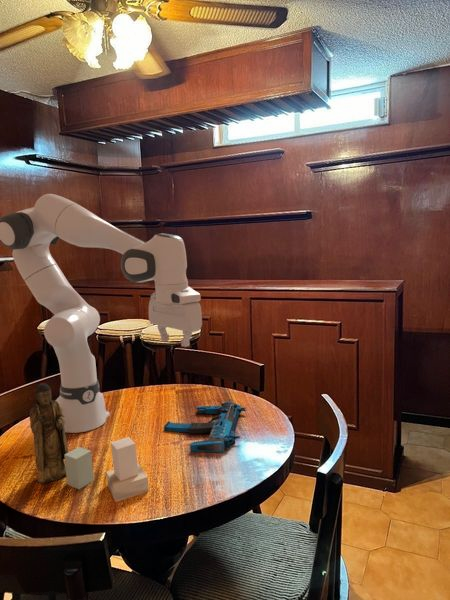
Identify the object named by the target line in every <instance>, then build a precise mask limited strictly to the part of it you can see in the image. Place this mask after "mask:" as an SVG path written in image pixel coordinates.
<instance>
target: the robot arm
mask: <svg viewBox="0 0 450 600" xmlns="http://www.w3.org/2000/svg"><path fill="white" fill-rule="evenodd" d="M59 240H62V241H64V242H66V243H68V244H70V245H74V246H76V247H81V248H94V249H95V248H96V249H97V248H98V249H107V250H108V249H109V250H112V251H114V252H117V253H119V254H121V255H122V257H121V260H120V269H121V272H122V274H123V276H124V278H125V279H127V280H129V281H130V282H133V283H146V282H149V281H154V286H155V287H154V288H155V291H153V293H151V295H150V300H149V302H148V321H149V323H150V324H152V325H156V326H157V330H158V332H159V334H160V341H162V342H168V341H169V340H170V334H168V331H167V328H169V329H175V330H178V331H182V335H183V338H182V339H181V340H180V343H181V344H180V345H181V346H182V347H185V348H186V347H190V344H191V343H190V340H191V337H192V335H193V333H196V332H198V331H200V330H201V329H202V326H203V313H202V307H201V304H200V301H201V300H202V299H201V298H202V297H201V294H200V293H199V292H198V291H196V290H194V289H193V288H192V287H191V286H189V282H188V281H189V280H188V278H187V268H188V261H187V251H186V246H185V242H184V239H183V238H182V237H181V236H179V235H176V234H172V233H171V234H170V233H156V234H154V236H153V237H152V238H151V239H149V240H148V241H143V240H141V239H139V238H137V237H135V236H134V235H133V234H132V235H131V234H130V233H128V232H126V231H124V230H122V229H120V228H118V227H116V226H114V225H112V224H111V223H110V222H107V221H106V220H105V219H102V218H101V217H99V216H98V215H96V214H95V213H93V212H92V211H90V210H88V209H87V208H85V207H83V206H81V205H80V204H79V203H76V202H74V201H72V200H70V199H68V198H66V197H64V196H61V195H59V194H54V193H46V194H43V195H41V196H40V197H39V198H38V199H37V200H36V201H35V204H34V206H33V207H28V208H25V209H23V210H18V211H16V212H10V213H9V212H8V213H7V214H4V215H3V216H1V217H0V243H1V245H2V246H4V247H5V248H6V249H9V250H12V255H11V256H12V258H13V261H14V263H15V266H16V268H17V270H18V272H19V274H20V276H21V278H22V279H23V281H24V282H25V284H26V286H27V288H29V290H30V292H31V295H33V297H34V298H35V300H36V301H37V303H38V304H40V305H41V306H43V307H45V308H46V309H48V310H49V311H50V312H51V313H52V314H53V316H52V317H51V318H49V319H48V321H46V324H45V325H44V328H43V334H44V338H45V340H46V341H47V343H48V344H49V345H50V346H52V347H53V350H54V352H55V354H56V355H55V356H56V357H57V360H58V365H59V371H60V372H59V373H60V381H61V383H60V387H59V396H58V397H57V398H56V399H55V400H54V401H57V402H58V403H59V404H60V406H61V408H62V411H63V414H64V417H65V418H64V419H65V425H64V427H65V433H70V434H71V433H73V434H76V433H77V434H78V433H83V432H89V431H92V430H95V429H97V428H100V427H101V426H102V425H104V424H105V422H106V420H107V418H109V417H110V415H111V414H110V411H107V408H106V403H105V397H104V394H103V393H102V392H100V382H99V379H98V378H97V377H98V376H97V375H98V374H97V366H96V358H95V355H93V353H92V352H91V349H90V346H89V343H88V337H89V336H91V335H93V334H94V333H95V332H96V330H97V329H98V328H99V325H100V322H101V316H100V313H99V311H98V310H97V309H96V308H95V307H93V306H91V305H90V304H89V303H87V301H86V300H85V299H84V298H83V297H82V296H81V295H80V294H79V293H78V292H77V290H75V289H74V288H73V286H72V285H71V284H70V282H69V281H68V279H67V278H66V276H65V275H64V273H63V271H62V270H61V268H60V267H59V264H58V263H57V262H56V260H55V259H54V258H53V256H52V254H51V252H50V245H55V246H56V244H58V242H59Z"/></svg>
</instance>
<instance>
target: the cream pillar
mask: <svg viewBox="0 0 450 600" xmlns="http://www.w3.org/2000/svg"><path fill="white" fill-rule="evenodd" d="M110 445H111V446H110V447H111V457H112V466H113V469H114V474H115V475H116V476H117V477H118V479H119V480H120V481H122V480H125V479H128V478H131V477H133V476H136V475H138V465H137V463H138V457H137V448H136V443H135V442H134V440H132V439H131V438H130V437H129V436H125V437H124V438H120V439H117V440H115V441H111V442H110Z"/></svg>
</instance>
